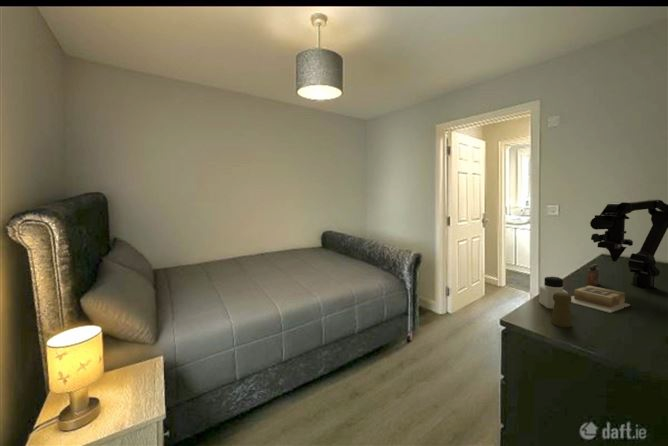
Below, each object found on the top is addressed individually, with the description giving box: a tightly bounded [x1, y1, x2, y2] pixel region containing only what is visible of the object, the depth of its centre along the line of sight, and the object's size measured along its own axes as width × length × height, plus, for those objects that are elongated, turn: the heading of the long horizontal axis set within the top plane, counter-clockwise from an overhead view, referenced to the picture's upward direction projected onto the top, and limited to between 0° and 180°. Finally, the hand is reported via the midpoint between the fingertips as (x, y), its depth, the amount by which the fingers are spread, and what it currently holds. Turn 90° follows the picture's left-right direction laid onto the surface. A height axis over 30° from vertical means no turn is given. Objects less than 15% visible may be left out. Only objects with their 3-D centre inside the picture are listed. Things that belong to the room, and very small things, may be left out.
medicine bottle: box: [538, 275, 569, 310], centre depth 118 cm, size 7×7×12 cm
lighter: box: [586, 263, 600, 287], centre depth 145 cm, size 8×3×10 cm, turn 118°
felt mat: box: [570, 295, 631, 314], centre depth 121 cm, size 16×16×1 cm
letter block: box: [573, 285, 626, 308], centre depth 122 cm, size 4×12×12 cm
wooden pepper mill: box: [550, 293, 573, 328], centre depth 102 cm, size 6×6×11 cm
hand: (614, 261), depth 137 cm, fingers closed
